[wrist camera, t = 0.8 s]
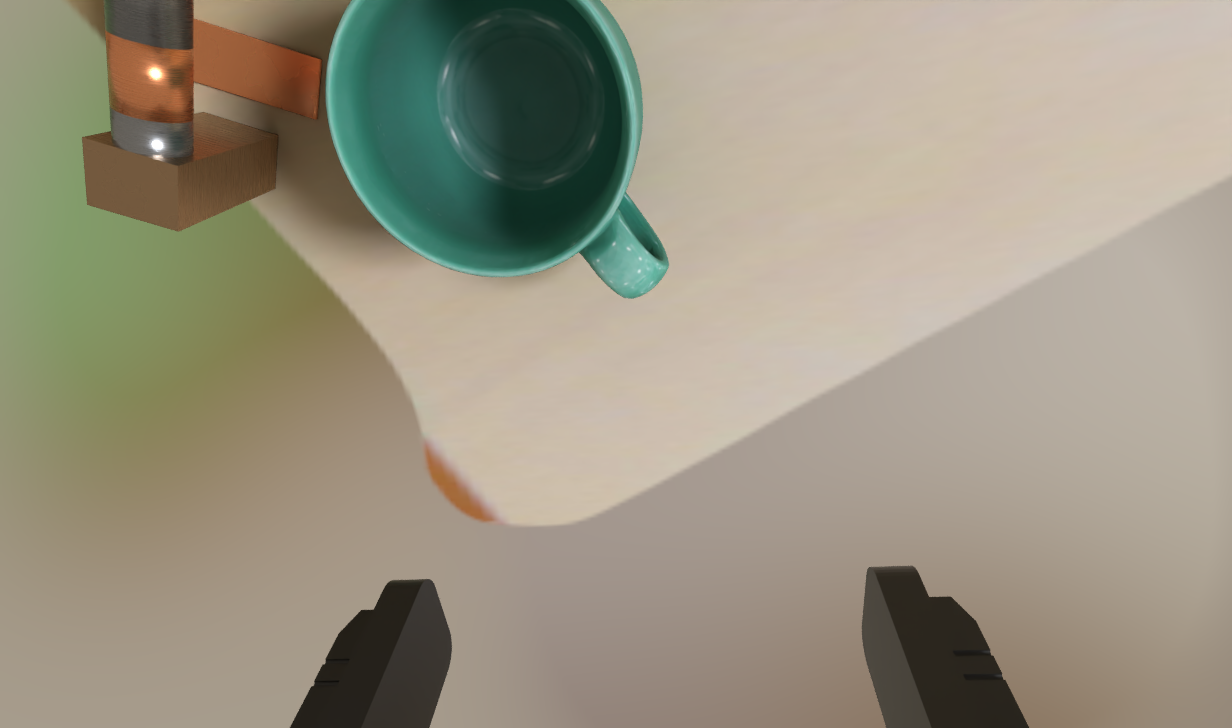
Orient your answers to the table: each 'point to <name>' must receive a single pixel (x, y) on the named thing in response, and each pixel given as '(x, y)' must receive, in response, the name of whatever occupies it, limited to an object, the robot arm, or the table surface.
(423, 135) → the mug
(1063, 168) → the table surface
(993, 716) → the robot arm
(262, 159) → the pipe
